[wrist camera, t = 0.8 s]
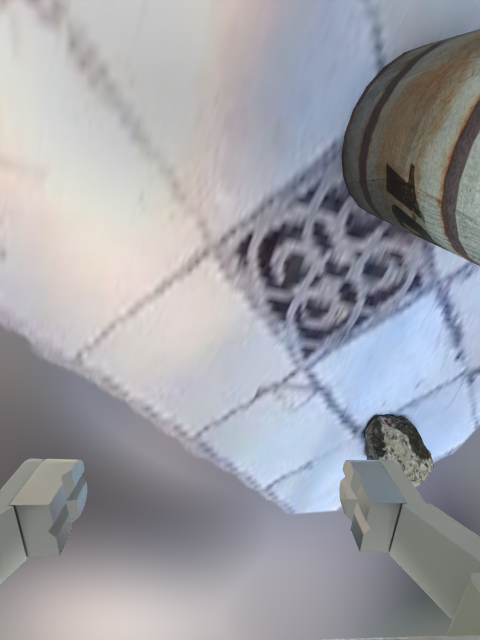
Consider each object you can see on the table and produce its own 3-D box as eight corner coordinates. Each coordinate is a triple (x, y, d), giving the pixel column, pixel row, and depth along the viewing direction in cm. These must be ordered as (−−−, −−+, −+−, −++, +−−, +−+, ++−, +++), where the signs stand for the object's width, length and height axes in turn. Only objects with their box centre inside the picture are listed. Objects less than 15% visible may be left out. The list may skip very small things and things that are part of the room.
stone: (414, 413, 93) (458, 441, 78) (394, 467, 95) (434, 504, 80) (363, 402, 89) (399, 429, 74) (343, 459, 91) (375, 496, 76)
